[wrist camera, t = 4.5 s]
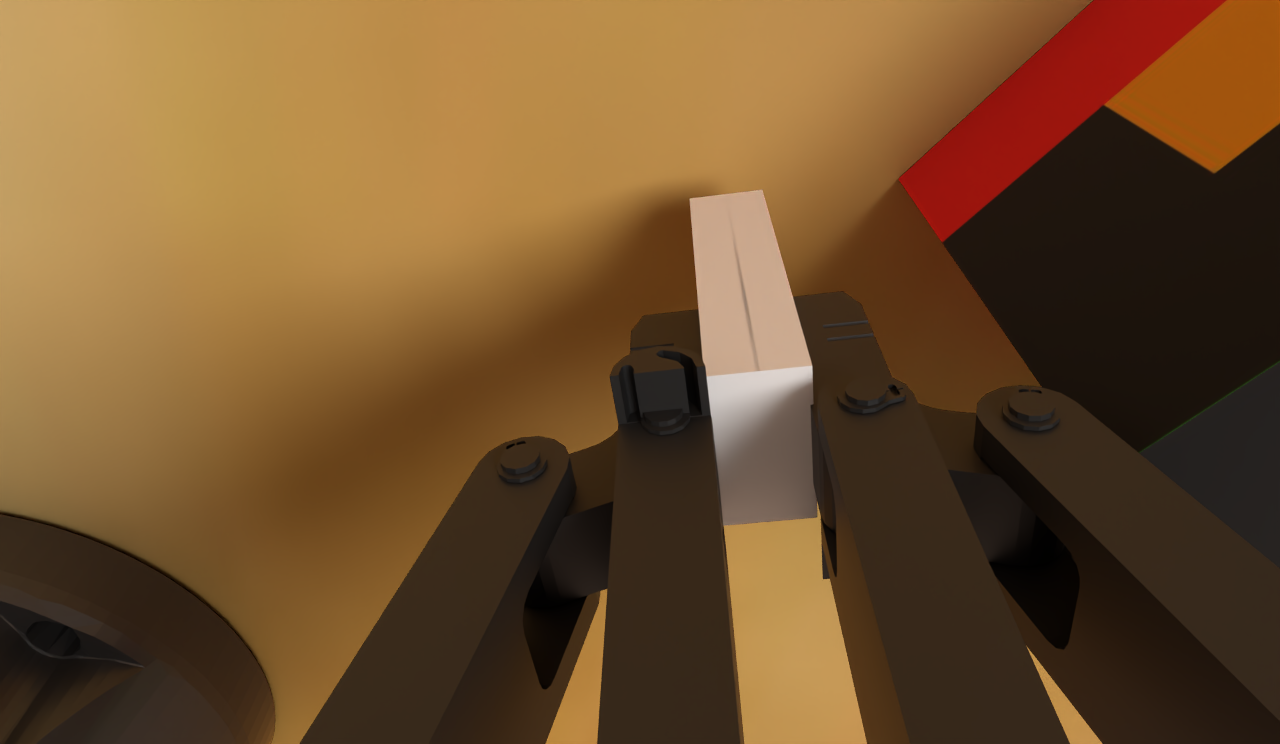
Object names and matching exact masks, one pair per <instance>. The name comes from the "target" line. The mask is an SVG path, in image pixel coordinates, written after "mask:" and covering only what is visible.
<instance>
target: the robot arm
mask: <svg viewBox="0 0 1280 744" xmlns="http://www.w3.org/2000/svg"><path fill="white" fill-rule="evenodd" d="M690 210H691V222H692V235H693V247H694V259H695V271H696V284H697V296H698V308H699V309H698V310H689V311H680V312H671V313H662V314H653V315H644V316H643V317H642V318H641V319H640V321H639V322H638V323H637V325H636V326H635V327H634V328H633V330H632V331H631V343H630V350H631V351H630V355H628V356H625V357H624V358H623V359H622V360H620V361H619V362H618V363H617V364H616V365H615V366H614V367H613V369H612V372H611V374H610V381H611V386H612V392H613V397H614V403H615V408H616V413H617V419H618V424H619V425H618V430H617V431H616V432H615V433H614V434H613V435H612V436H611V437H609V438H608V439H606V440H604V441H603V442H601V443H599V444H597V445H594V446H592V447H589V448H587V449H584V450H581V451H577V452H574V453H571V454H568V452H567V450H566V447H565V446H564V445H562V444H561V443H559V442H558V441H556V440H554V439H550V438H545V437H540V436H535V437H522V438H518V439H515V440H512V441H509V442H505V443H503V444H501V445H500V446H498V447H496V448H494V449H493V450H491V451H489V452H488V453H487V454H486V455H485V457H484V458H483V459H482V460H481V461H480V462H479V463H478V465H477V466H476V468H475V469H474V471H473V472H472V474H471V476H470V477H469V479H468V480H467V482H466V483H465V485H464V487H463V488H462V490H461V491H460V493H459V494H458V496H457V497H456V499H455V501H454V502H453V504H452V505H451V507H450V508H449V510H448V512H447V513H446V515H445V516H444V518H443V519H442V521H441V523H440V524H439V526H438V527H437V529H436V530H435V532H434V534H433V535H432V537H431V538H430V540H429V541H428V543H427V545H426V546H425V548H424V549H423V551H422V552H421V554H420V556H419V557H418V559H417V560H416V562H415V563H414V565H413V567H412V568H411V570H410V571H409V573H408V574H407V576H406V577H405V579H404V581H403V582H402V584H401V585H400V587H399V588H398V590H397V592H396V593H395V595H394V596H393V598H392V599H391V601H390V603H389V604H388V606H387V607H386V609H385V610H384V612H383V614H382V615H381V617H380V618H379V620H378V621H377V623H376V625H375V626H374V628H373V629H372V631H371V632H370V634H369V636H368V637H367V639H366V640H365V642H364V643H363V645H362V647H361V648H360V650H359V651H358V653H357V654H356V656H355V657H354V659H353V661H352V662H351V664H350V665H349V667H348V668H347V670H346V672H345V673H344V675H343V676H342V678H341V679H340V681H339V683H338V684H337V686H336V687H335V689H334V690H333V692H332V694H331V695H330V697H329V698H328V700H327V701H326V703H325V705H324V706H323V708H322V709H321V711H320V712H319V714H318V716H317V717H316V719H315V720H314V722H313V723H312V725H311V726H310V728H309V730H308V731H307V733H306V734H305V736H304V737H303V739H302V741H301V742H300V744H545V743H546V741H547V738H548V735H549V733H550V730H551V728H552V725H553V722H554V720H555V717H556V714H557V712H558V709H559V707H560V704H561V701H562V699H563V696H564V693H565V691H566V688H567V686H568V683H569V680H570V678H571V675H572V673H573V670H574V667H575V665H576V662H577V659H578V657H579V654H580V652H581V649H582V646H583V644H584V641H585V638H586V636H587V633H588V631H589V628H590V625H591V623H592V620H593V617H594V615H595V612H596V610H597V607H598V604H599V598H600V591H601V590H604V589H607V588H608V590H607V605H606V620H605V635H604V650H603V665H602V680H601V695H600V710H599V725H598V740H597V744H744V736H743V725H742V714H741V704H740V693H739V682H738V672H737V661H736V650H735V640H734V629H733V618H732V608H731V597H730V586H729V575H728V565H727V554H726V545H725V536H724V527H723V526H724V525H735V524H747V523H758V522H770V521H781V520H793V519H804V518H815V517H817V502H818V506H819V510H820V514H821V535H822V568H823V579H830V581H831V585H832V590H833V594H834V599H835V603H836V607H837V612H838V616H839V621H840V625H841V630H842V634H843V638H844V643H845V647H846V652H847V656H848V661H849V665H850V669H851V674H852V678H853V683H854V687H855V692H856V696H857V700H858V705H859V709H860V714H861V718H862V723H863V727H864V731H865V736H866V740H867V744H1070V743H1069V741H1068V738H1067V736H1066V734H1065V732H1064V729H1063V727H1062V725H1061V723H1060V720H1059V718H1058V716H1057V714H1056V711H1055V709H1054V707H1053V705H1052V702H1051V700H1050V698H1049V696H1048V694H1047V691H1046V689H1045V687H1044V685H1043V682H1042V680H1041V678H1040V676H1039V673H1038V671H1037V669H1036V667H1035V664H1034V662H1033V660H1032V658H1031V655H1030V653H1029V651H1028V649H1027V647H1028V648H1029V649H1030V651H1031V652H1032V653H1033V655H1034V656H1035V657H1036V658H1037V660H1038V661H1039V662H1040V664H1041V665H1042V666H1043V667H1044V669H1045V670H1046V671H1047V673H1048V674H1049V675H1050V676H1051V678H1052V679H1053V680H1054V682H1055V683H1056V684H1057V685H1058V687H1059V688H1060V689H1061V691H1062V692H1063V693H1064V694H1065V696H1066V697H1067V698H1068V700H1069V701H1070V702H1071V703H1072V705H1073V706H1074V707H1075V709H1076V710H1077V711H1078V712H1079V714H1080V715H1081V716H1082V718H1083V719H1084V720H1085V721H1086V723H1087V724H1088V725H1089V727H1090V728H1091V729H1092V730H1093V732H1094V733H1095V734H1096V736H1097V737H1098V738H1099V739H1100V741H1101V742H1102V743H1103V744H1280V568H1279V567H1277V566H1276V565H1275V564H1274V563H1273V562H1271V561H1270V560H1269V559H1268V558H1266V557H1265V556H1264V555H1263V554H1262V553H1260V552H1259V551H1258V550H1257V549H1255V548H1254V547H1253V546H1252V545H1251V544H1249V543H1248V542H1247V541H1246V540H1244V539H1243V538H1242V537H1241V536H1240V535H1238V534H1237V533H1236V532H1235V531H1233V530H1232V529H1231V528H1230V527H1229V526H1227V525H1226V524H1225V523H1224V522H1222V521H1221V520H1220V519H1219V518H1218V517H1216V516H1215V515H1214V514H1213V513H1211V512H1210V511H1209V510H1208V509H1207V508H1205V507H1204V506H1203V505H1202V504H1200V503H1199V502H1198V501H1197V500H1196V499H1194V498H1193V497H1192V496H1191V495H1190V494H1188V493H1187V492H1186V491H1185V490H1183V489H1182V488H1181V487H1180V486H1179V485H1177V484H1176V483H1175V482H1174V481H1172V480H1171V479H1170V478H1169V477H1168V476H1166V475H1165V474H1164V473H1163V472H1161V471H1160V470H1159V469H1158V468H1157V467H1155V466H1154V465H1153V464H1152V463H1150V462H1149V461H1148V460H1147V459H1146V458H1144V457H1143V456H1142V455H1141V454H1139V453H1138V452H1137V451H1136V450H1135V449H1133V448H1132V447H1131V446H1130V445H1128V444H1127V443H1126V442H1125V441H1124V440H1122V439H1121V438H1120V437H1119V436H1117V435H1116V434H1115V433H1114V432H1113V431H1111V430H1110V429H1109V428H1108V427H1106V426H1105V425H1104V424H1103V423H1102V422H1100V421H1099V420H1098V419H1097V418H1095V417H1094V416H1093V415H1092V414H1091V413H1089V412H1088V411H1087V410H1086V409H1084V408H1083V407H1082V406H1081V405H1080V404H1078V403H1077V402H1076V401H1074V400H1072V399H1070V398H1069V397H1067V396H1065V395H1064V394H1062V393H1059V392H1056V391H1053V390H1049V389H1046V388H1042V387H1035V386H1022V385H1019V386H1011V387H1003V388H999V389H997V390H995V391H992V392H990V393H987V394H986V395H985V396H984V397H983V398H982V399H981V400H980V401H979V402H978V403H977V413H966V412H955V411H947V410H941V409H935V408H931V407H928V406H925V405H922V404H919V403H918V402H917V400H916V398H915V396H914V394H913V393H912V391H911V390H910V389H909V388H908V387H907V385H906V384H904V383H902V382H900V381H898V380H896V379H894V378H892V376H891V374H890V371H889V369H888V367H887V364H886V362H885V360H884V357H883V355H882V352H881V350H880V348H879V345H878V343H877V341H876V338H875V337H874V335H873V331H872V329H871V326H870V324H869V323H868V319H867V317H866V315H865V312H864V310H863V308H862V305H861V304H860V303H859V302H857V301H856V300H855V299H853V298H852V297H850V296H849V295H847V294H846V293H845V292H843V291H841V292H832V293H823V294H814V295H805V296H796V297H793V296H792V292H791V289H790V285H789V282H788V278H787V275H786V271H785V268H784V264H783V261H782V257H781V254H780V250H779V247H778V243H777V240H776V236H775V233H774V229H773V226H772V222H771V219H770V215H769V212H768V208H767V204H766V201H765V197H764V194H763V190H755V191H747V192H739V193H730V194H722V195H714V196H706V197H698V198H690ZM274 730H275V709H274V703H273V698H272V694H271V691H270V688H269V685H268V683H267V680H266V678H265V676H264V674H263V672H262V670H261V668H260V666H259V664H258V663H257V661H256V660H255V658H254V656H253V655H252V653H251V652H250V651H249V649H248V648H247V647H246V645H245V644H244V643H243V642H242V640H241V639H240V638H239V637H238V636H237V635H236V633H235V632H234V631H233V630H232V629H231V628H230V627H229V626H228V625H227V624H226V623H225V622H224V621H223V620H222V619H221V618H220V617H219V616H218V615H217V614H215V613H214V612H213V611H212V610H211V609H210V608H209V607H208V606H206V605H205V604H204V603H202V602H201V601H200V600H199V599H197V598H196V597H195V596H194V595H192V594H191V593H189V592H188V591H187V590H185V589H184V588H182V587H181V586H180V585H178V584H177V583H175V582H173V581H172V580H170V579H169V578H167V577H166V576H164V575H162V574H161V573H159V572H157V571H155V570H154V569H152V568H150V567H148V566H147V565H145V564H143V563H141V562H139V561H137V560H135V559H133V558H131V557H129V556H127V555H125V554H123V553H121V552H119V551H116V550H114V549H112V548H110V547H108V546H105V545H103V544H100V543H98V542H95V541H93V540H90V539H88V538H85V537H82V536H79V535H76V534H74V533H71V532H68V531H65V530H62V529H58V528H55V527H52V526H48V525H45V524H41V523H37V522H33V521H29V520H25V519H21V518H16V517H11V516H6V515H1V514H0V744H271V742H272V739H273V735H274Z"/></svg>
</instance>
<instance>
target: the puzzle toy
mask: <svg viewBox="0 0 1280 744" xmlns="http://www.w3.org/2000/svg"><path fill="white" fill-rule="evenodd" d="M898 180H899V181H900V182H901V184H902V185H903V187H904V188H905V190H906V191H907V193H908V194H909V196H910V197H911V198H912V200H913V201H914V203H915V204H916V206H917V207H918V209H919V210H920V211H921V213H922V214H923V216H924V217H925V219H926V220H927V222H928V223H929V224H930V226H931V227H932V229H933V230H934V232H935V233H936V235H937V236H938V237H939V239H940V240H941V242H942V243H943V245H944V246H945V248H946V249H947V250H948V252H949V253H950V255H951V256H952V258H953V259H954V261H955V262H956V264H957V265H958V266H959V268H960V269H961V271H962V272H963V274H964V275H965V277H966V278H967V279H968V281H969V282H970V284H971V285H972V287H973V288H974V290H975V291H976V292H977V294H978V295H979V297H980V298H981V300H982V301H983V303H984V304H985V305H986V307H987V308H988V310H989V311H990V313H991V314H992V316H993V317H994V318H995V320H996V321H997V323H998V324H999V326H1000V327H1001V329H1002V330H1003V331H1004V333H1005V334H1006V336H1007V337H1008V339H1009V340H1010V342H1011V343H1012V345H1013V346H1014V347H1015V349H1016V350H1017V352H1018V353H1019V355H1020V356H1021V358H1022V359H1023V360H1024V362H1025V363H1026V365H1027V366H1028V368H1029V369H1030V371H1031V372H1032V373H1033V375H1034V376H1035V378H1036V379H1037V381H1038V382H1039V384H1040V385H1041V386H1042V388H1046V389H1049V390H1053V391H1056V392H1059V393H1062V394H1064V395H1065V396H1067V397H1069V398H1070V399H1072V400H1074V401H1076V402H1077V403H1078V404H1080V405H1081V406H1082V407H1083V408H1084V409H1086V410H1087V411H1088V412H1089V413H1091V414H1092V415H1093V416H1094V417H1095V418H1097V419H1098V420H1099V421H1100V422H1102V423H1103V424H1104V425H1105V426H1106V427H1108V428H1109V429H1110V430H1111V431H1113V432H1114V433H1115V434H1116V435H1117V436H1119V437H1120V438H1121V439H1122V440H1124V441H1125V442H1126V443H1127V444H1128V445H1130V446H1131V447H1132V448H1133V449H1135V450H1136V451H1137V452H1138V453H1139V454H1141V455H1142V456H1143V457H1144V458H1146V459H1147V460H1148V461H1149V462H1150V463H1152V464H1153V465H1154V466H1155V467H1157V468H1158V469H1159V470H1160V471H1161V472H1163V473H1164V474H1165V475H1166V476H1168V477H1169V478H1170V479H1171V480H1172V481H1174V482H1175V483H1176V484H1177V485H1179V486H1180V487H1181V488H1182V489H1183V490H1185V491H1186V492H1187V493H1188V494H1190V495H1191V496H1192V497H1193V498H1194V499H1196V500H1197V501H1198V502H1199V503H1200V504H1202V505H1203V506H1204V507H1205V508H1207V509H1208V510H1209V511H1210V512H1211V513H1213V514H1214V515H1215V516H1216V517H1218V518H1219V519H1220V520H1221V521H1222V522H1224V523H1225V524H1226V525H1227V526H1229V527H1230V528H1231V529H1232V530H1233V531H1235V532H1236V533H1237V534H1238V535H1240V536H1241V537H1242V538H1243V539H1244V540H1246V541H1247V542H1248V543H1249V544H1251V545H1252V546H1253V547H1254V548H1255V549H1257V550H1258V551H1259V552H1260V553H1262V554H1263V555H1264V556H1265V557H1266V558H1268V559H1269V560H1270V561H1271V562H1273V563H1274V564H1275V565H1276V566H1277V567H1279V568H1280V0H1093V1H1092V2H1091V3H1090V4H1089V5H1088V6H1087V7H1086V8H1085V9H1084V10H1082V11H1081V12H1080V13H1079V14H1078V15H1077V16H1076V17H1075V18H1074V19H1073V20H1072V21H1070V22H1069V23H1068V24H1067V25H1066V26H1065V27H1064V28H1063V29H1062V30H1061V31H1059V32H1058V33H1057V34H1056V35H1055V36H1054V37H1053V38H1052V39H1051V40H1050V41H1049V42H1047V43H1046V44H1045V45H1044V46H1043V47H1042V48H1041V49H1040V50H1039V51H1038V52H1036V53H1035V54H1034V55H1033V56H1032V57H1031V58H1030V59H1029V60H1028V61H1027V62H1026V63H1024V64H1023V65H1022V66H1021V67H1020V68H1019V69H1018V70H1017V71H1016V72H1015V73H1014V74H1012V75H1011V76H1010V77H1009V78H1008V79H1007V80H1006V81H1005V82H1004V83H1003V84H1001V85H1000V86H999V87H998V88H997V89H996V90H995V91H994V92H993V93H992V94H991V95H989V96H988V97H987V98H986V99H985V100H984V101H983V102H982V103H981V104H980V105H979V106H977V107H976V108H975V109H974V110H973V111H972V112H971V113H970V114H969V115H968V116H966V117H965V118H964V119H963V120H962V121H961V122H960V123H959V124H958V125H957V126H956V127H954V128H953V129H952V130H951V131H950V132H949V133H948V134H947V135H946V136H945V137H944V138H942V139H941V140H940V141H939V142H938V143H937V144H936V145H935V146H934V147H933V148H931V149H930V150H929V151H928V152H927V153H926V154H925V155H924V156H923V157H922V158H921V159H919V160H918V161H917V162H916V163H915V164H914V165H913V166H912V167H911V168H910V169H909V170H907V171H906V172H905V173H904V174H903V175H902V176H901V177H900V178H899V179H898Z"/></svg>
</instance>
